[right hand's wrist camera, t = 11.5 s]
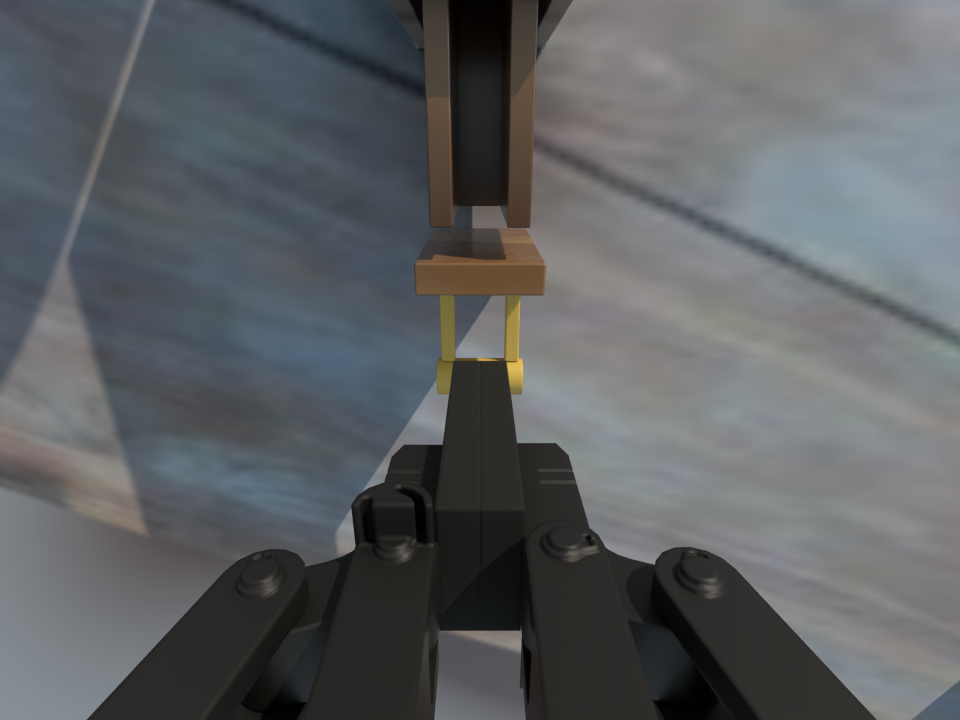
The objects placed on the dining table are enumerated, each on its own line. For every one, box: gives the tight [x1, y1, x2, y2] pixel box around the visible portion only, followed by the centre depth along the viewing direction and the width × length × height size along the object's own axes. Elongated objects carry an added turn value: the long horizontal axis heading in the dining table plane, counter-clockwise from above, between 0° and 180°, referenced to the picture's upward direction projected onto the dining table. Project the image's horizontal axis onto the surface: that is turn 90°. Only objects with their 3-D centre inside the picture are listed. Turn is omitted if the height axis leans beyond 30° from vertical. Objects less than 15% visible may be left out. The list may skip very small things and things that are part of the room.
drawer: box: [414, 0, 546, 394], centre depth 20 cm, size 25×5×9 cm, turn 0°
